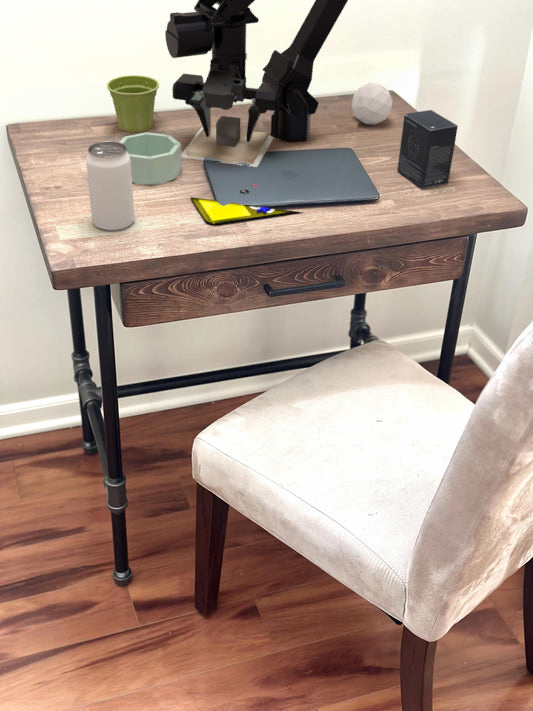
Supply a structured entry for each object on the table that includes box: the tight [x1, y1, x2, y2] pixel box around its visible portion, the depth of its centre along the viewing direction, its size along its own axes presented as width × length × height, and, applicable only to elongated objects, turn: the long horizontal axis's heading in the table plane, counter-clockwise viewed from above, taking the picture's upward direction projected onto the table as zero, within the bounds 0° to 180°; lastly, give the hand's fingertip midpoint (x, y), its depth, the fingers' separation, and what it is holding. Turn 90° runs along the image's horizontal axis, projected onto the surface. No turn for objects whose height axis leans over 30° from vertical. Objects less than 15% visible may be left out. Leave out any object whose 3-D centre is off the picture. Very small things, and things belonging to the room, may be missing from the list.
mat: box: [181, 126, 275, 168], centre depth 156 cm, size 14×14×1 cm
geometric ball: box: [350, 82, 394, 126], centre depth 167 cm, size 8×8×8 cm
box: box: [397, 109, 459, 189], centre depth 147 cm, size 8×6×11 cm
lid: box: [186, 115, 269, 164], centre depth 155 cm, size 12×12×5 cm
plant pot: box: [106, 74, 160, 133], centre depth 160 cm, size 9×9×9 cm
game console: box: [190, 184, 304, 227], centre depth 140 cm, size 18×11×2 cm, turn 112°
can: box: [85, 140, 135, 232], centre depth 130 cm, size 6×6×12 cm
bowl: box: [119, 131, 183, 186], centre depth 146 cm, size 10×10×6 cm
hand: (228, 138), depth 155 cm, fingers open, 7 cm apart
